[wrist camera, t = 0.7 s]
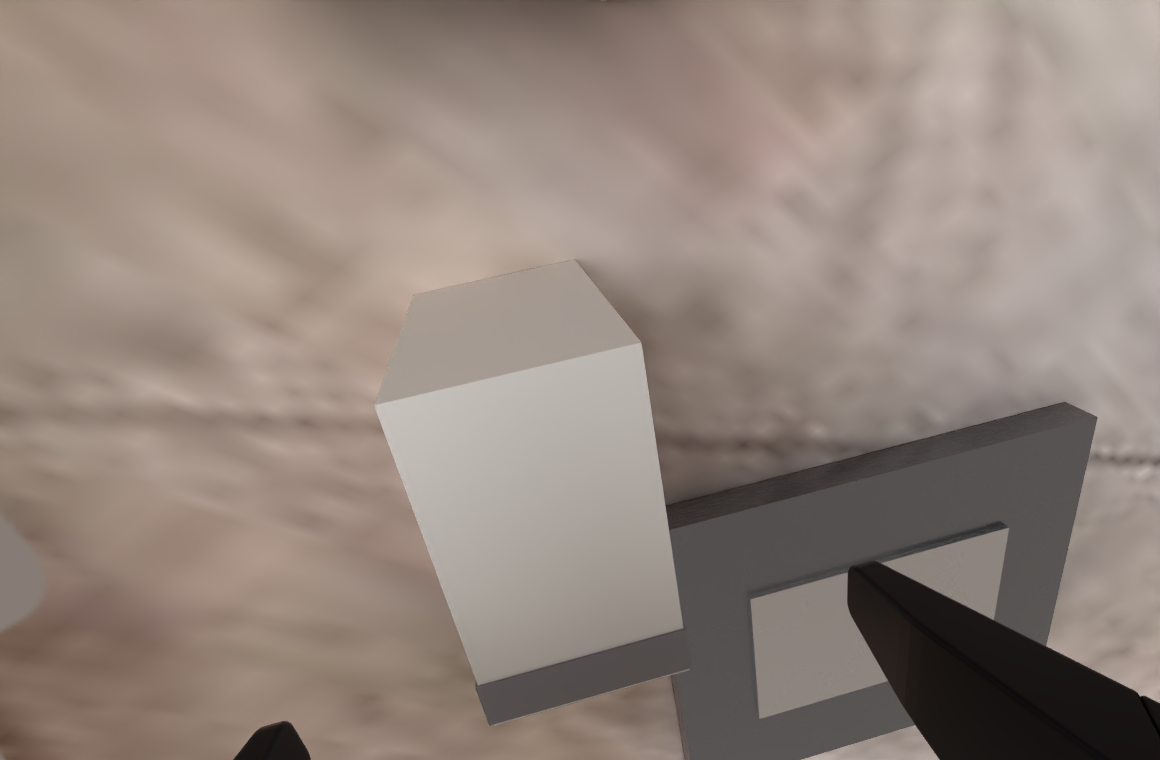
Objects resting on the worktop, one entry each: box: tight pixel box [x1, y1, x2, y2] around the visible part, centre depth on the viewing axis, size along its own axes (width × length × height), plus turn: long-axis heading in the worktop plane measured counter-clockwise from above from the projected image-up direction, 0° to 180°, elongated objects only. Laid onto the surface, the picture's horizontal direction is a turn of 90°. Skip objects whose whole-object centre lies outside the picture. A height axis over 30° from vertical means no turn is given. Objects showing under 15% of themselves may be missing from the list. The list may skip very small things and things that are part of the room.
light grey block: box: [374, 260, 692, 726], centre depth 14 cm, size 5×8×7 cm, turn 11°
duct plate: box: [666, 402, 1097, 760], centre depth 23 cm, size 16×14×1 cm
